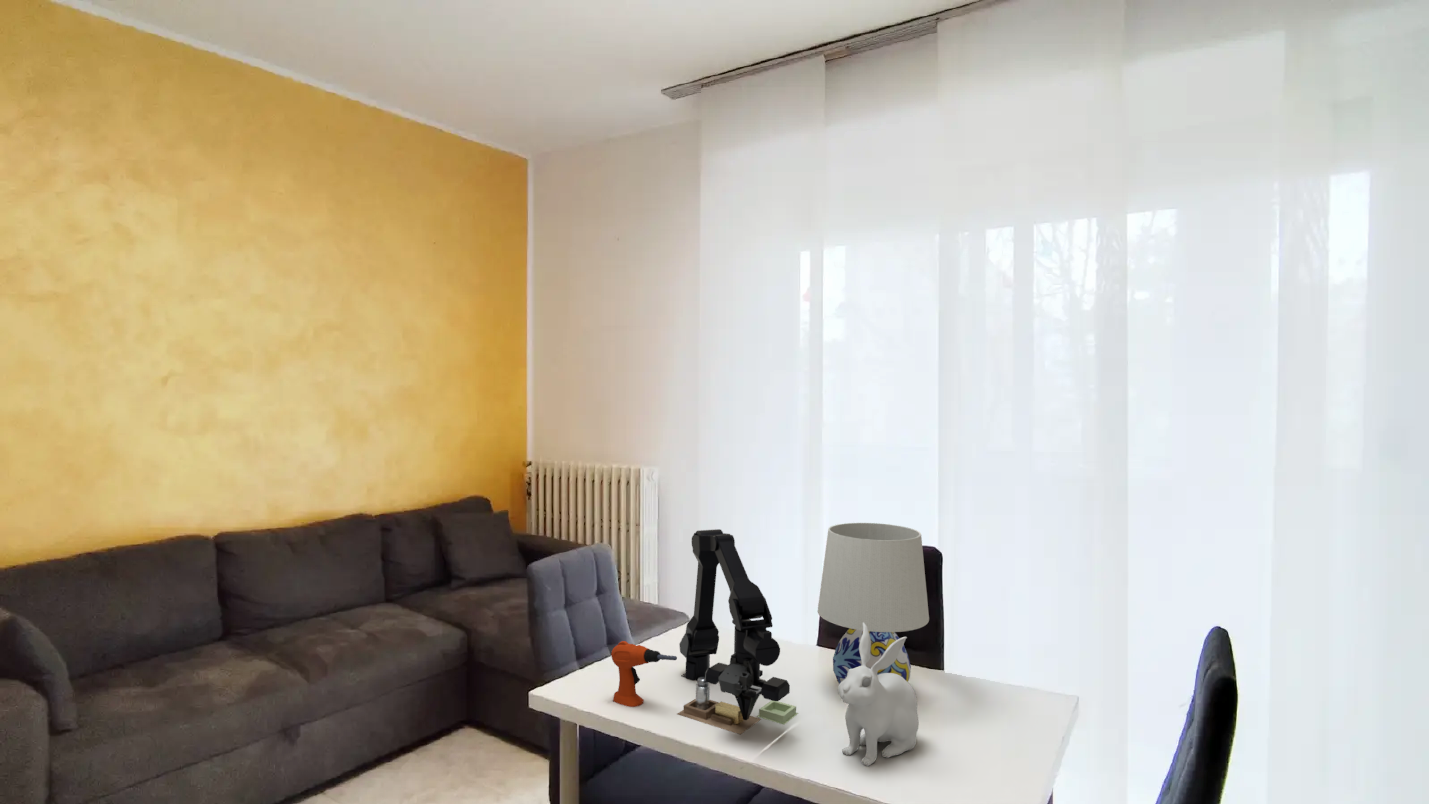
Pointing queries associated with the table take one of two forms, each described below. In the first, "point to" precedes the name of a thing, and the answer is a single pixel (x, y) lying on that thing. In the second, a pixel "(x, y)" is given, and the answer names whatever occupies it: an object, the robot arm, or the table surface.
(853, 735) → the rabbit
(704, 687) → the chrome stepped cylinder
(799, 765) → the table surface
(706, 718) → the socket block
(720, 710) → the yellow rectangular block
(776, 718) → the tray
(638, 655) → the toy drill
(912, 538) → the table lamp
